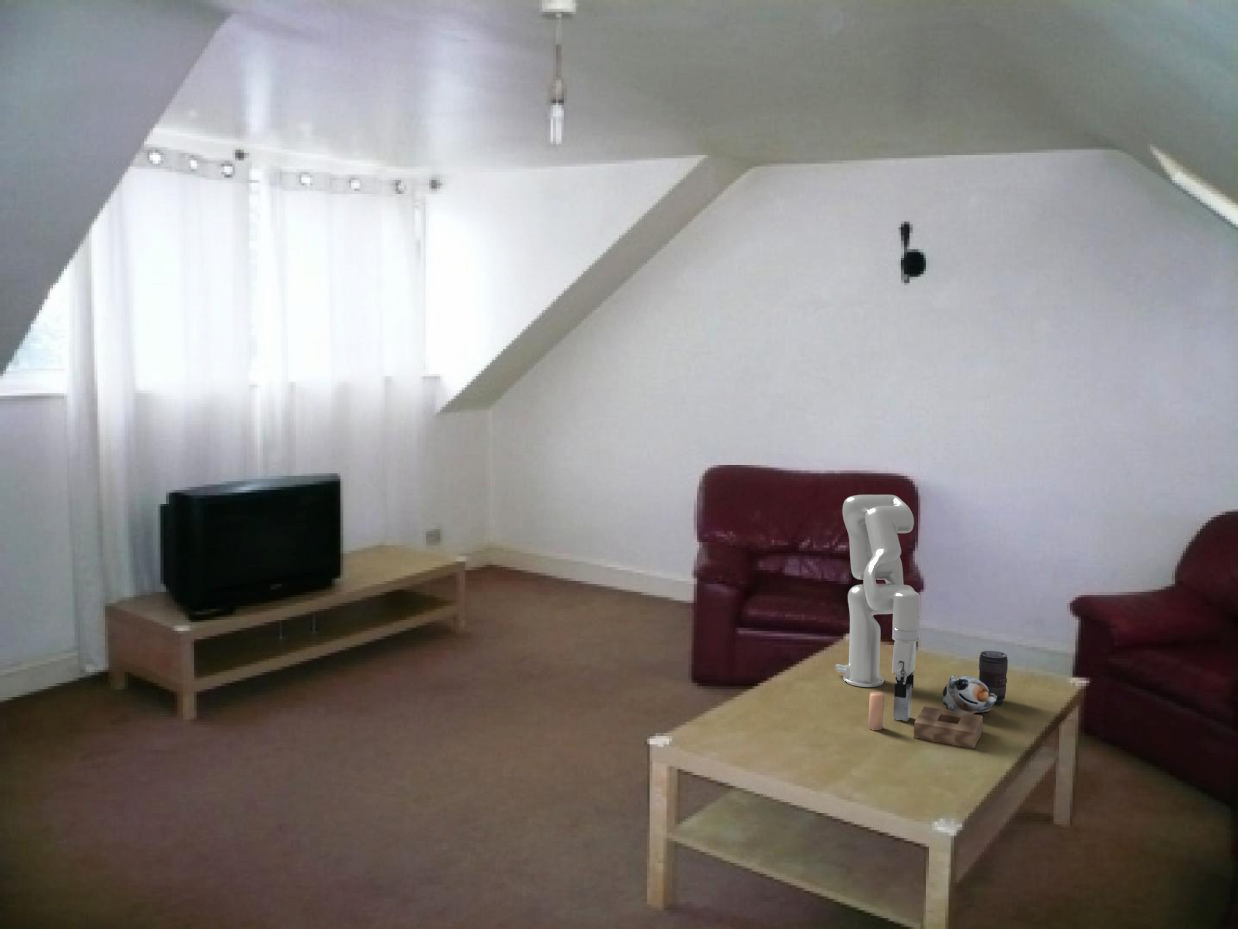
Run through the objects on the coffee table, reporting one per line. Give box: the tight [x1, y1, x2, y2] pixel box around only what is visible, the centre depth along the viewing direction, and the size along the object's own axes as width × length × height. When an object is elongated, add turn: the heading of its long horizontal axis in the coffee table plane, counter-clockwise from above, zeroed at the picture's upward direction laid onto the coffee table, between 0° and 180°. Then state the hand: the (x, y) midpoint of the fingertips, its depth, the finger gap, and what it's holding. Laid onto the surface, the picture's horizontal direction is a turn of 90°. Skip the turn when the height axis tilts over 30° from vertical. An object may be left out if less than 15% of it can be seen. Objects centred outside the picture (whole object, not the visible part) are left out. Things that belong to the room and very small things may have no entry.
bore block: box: [913, 705, 984, 749], centre depth 286 cm, size 16×14×4 cm
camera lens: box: [978, 650, 1009, 706], centre depth 311 cm, size 8×8×15 cm
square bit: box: [893, 683, 913, 722], centre depth 297 cm, size 4×4×10 cm
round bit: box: [867, 691, 885, 731], centre depth 290 cm, size 4×4×10 cm
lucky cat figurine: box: [942, 675, 997, 714], centre depth 303 cm, size 15×12×14 cm
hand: (904, 692), depth 296 cm, fingers open, 9 cm apart
